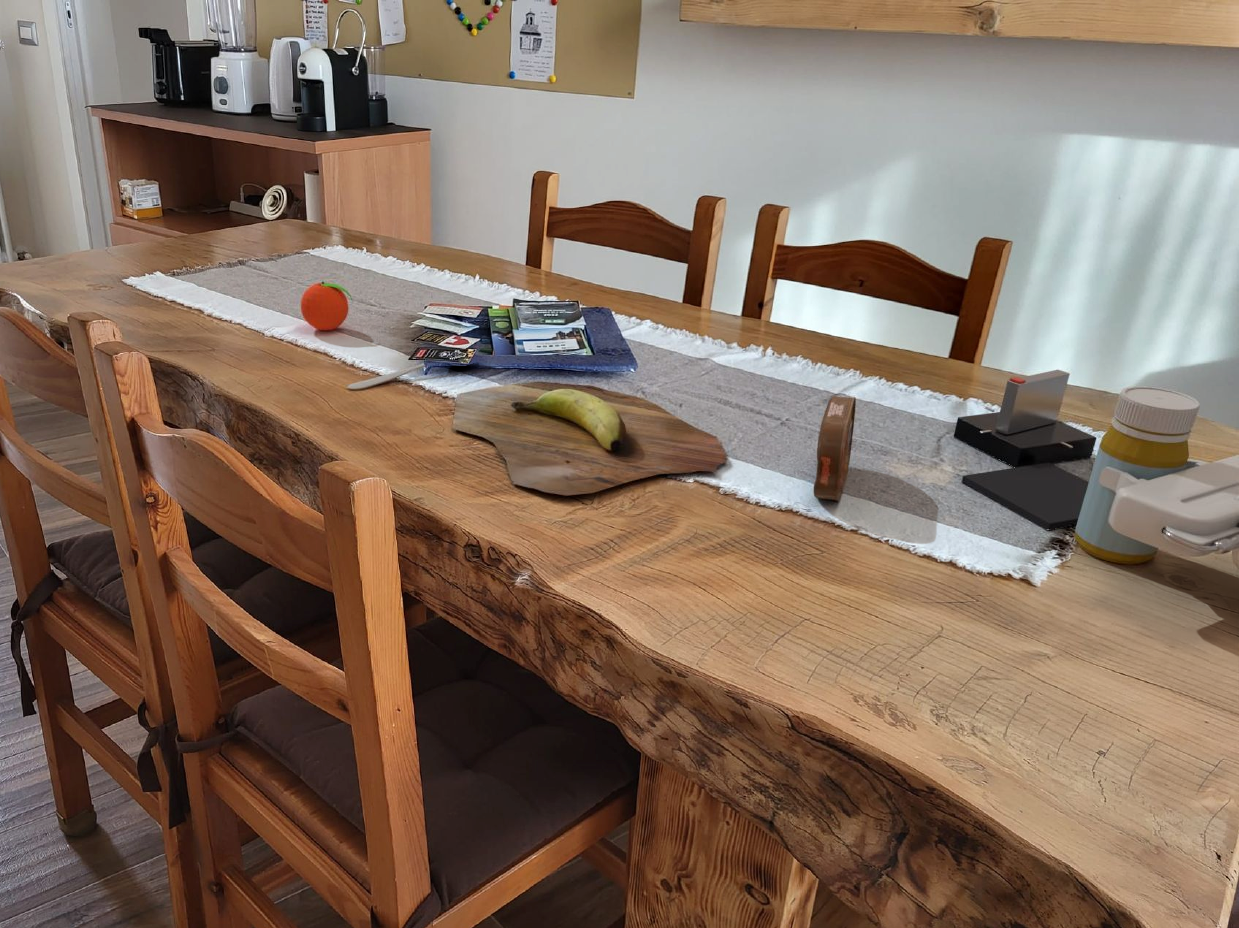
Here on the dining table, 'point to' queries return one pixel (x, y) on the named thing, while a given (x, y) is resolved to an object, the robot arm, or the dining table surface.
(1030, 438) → the base
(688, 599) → the dining table surface
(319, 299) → the clementine
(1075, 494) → the mat
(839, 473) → the tin
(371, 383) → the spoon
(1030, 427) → the tap lever
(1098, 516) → the bottle
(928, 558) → the dining table surface
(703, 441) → the cutting board
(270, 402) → the dining table surface
